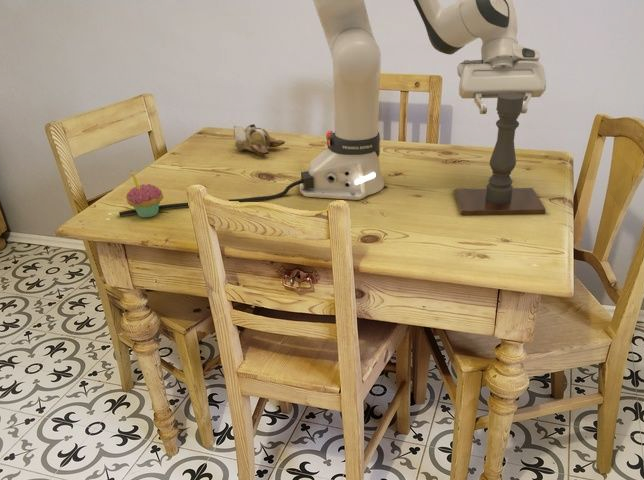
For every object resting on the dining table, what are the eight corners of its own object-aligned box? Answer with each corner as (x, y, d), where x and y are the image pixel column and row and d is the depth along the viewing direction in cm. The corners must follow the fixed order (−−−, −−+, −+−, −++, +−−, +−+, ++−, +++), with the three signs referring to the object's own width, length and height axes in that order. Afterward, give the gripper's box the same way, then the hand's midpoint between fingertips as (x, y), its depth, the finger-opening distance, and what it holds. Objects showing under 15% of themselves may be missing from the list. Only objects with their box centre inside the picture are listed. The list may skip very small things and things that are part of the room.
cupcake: (147, 223, 145) (136, 176, 138) (123, 216, 149) (111, 169, 142) (173, 210, 151) (163, 164, 144) (149, 203, 155) (139, 158, 148)
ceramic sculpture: (243, 115, 187) (285, 123, 182) (245, 142, 192) (286, 151, 187) (223, 125, 179) (266, 134, 174) (226, 153, 184) (268, 163, 179)
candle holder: (511, 204, 146) (525, 100, 132) (485, 203, 147) (496, 99, 134) (511, 194, 151) (524, 92, 138) (485, 192, 152) (496, 91, 139)
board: (461, 215, 145) (461, 210, 144) (454, 193, 156) (454, 189, 155) (544, 213, 144) (545, 209, 144) (531, 192, 155) (532, 187, 155)
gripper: (459, 52, 142) (461, 106, 140) (546, 51, 142) (550, 105, 139) (455, 68, 148) (457, 119, 146) (538, 66, 148) (542, 118, 145)
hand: (503, 112), depth 142 cm, fingers open, 8 cm apart
